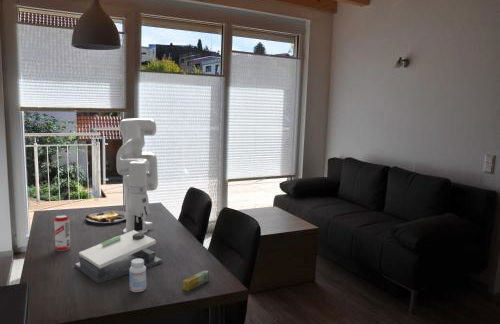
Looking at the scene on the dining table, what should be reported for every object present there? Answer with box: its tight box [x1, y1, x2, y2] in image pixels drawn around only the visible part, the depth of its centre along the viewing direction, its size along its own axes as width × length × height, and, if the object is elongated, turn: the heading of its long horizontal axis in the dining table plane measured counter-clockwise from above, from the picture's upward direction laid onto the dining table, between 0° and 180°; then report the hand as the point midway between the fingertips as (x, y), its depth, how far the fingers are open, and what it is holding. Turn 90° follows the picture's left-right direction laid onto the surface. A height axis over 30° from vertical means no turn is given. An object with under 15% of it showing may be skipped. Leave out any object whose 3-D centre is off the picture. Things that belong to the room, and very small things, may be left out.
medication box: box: [182, 269, 210, 292], centre depth 158 cm, size 12×3×4 cm, turn 143°
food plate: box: [84, 210, 126, 224], centre depth 238 cm, size 25×23×4 cm
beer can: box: [53, 214, 71, 252], centre depth 189 cm, size 6×6×16 cm
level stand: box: [74, 247, 163, 284], centre depth 174 cm, size 29×21×5 cm
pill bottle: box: [128, 258, 147, 293], centre depth 152 cm, size 6×6×11 cm
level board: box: [78, 230, 157, 268], centre depth 173 cm, size 26×18×3 cm
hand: (138, 230), depth 179 cm, fingers closed
